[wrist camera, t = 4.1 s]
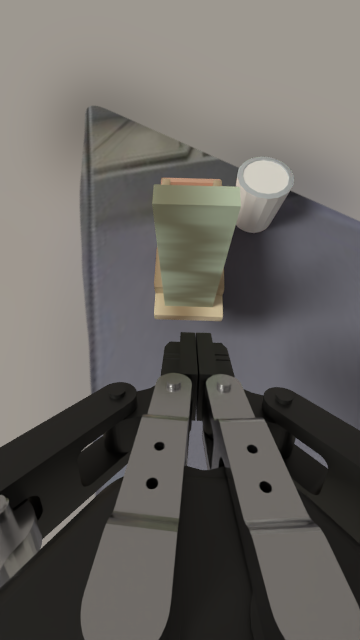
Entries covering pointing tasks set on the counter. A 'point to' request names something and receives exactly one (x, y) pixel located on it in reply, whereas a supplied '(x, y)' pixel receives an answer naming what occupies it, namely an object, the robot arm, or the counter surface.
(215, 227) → the ramp
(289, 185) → the white cylinder
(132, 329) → the counter surface
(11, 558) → the robot arm
